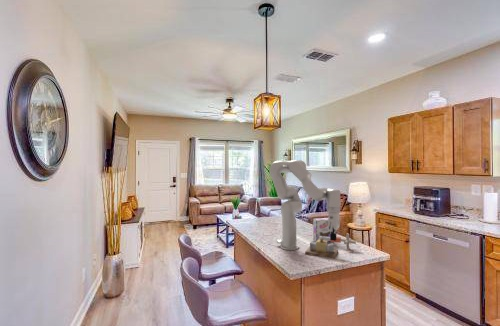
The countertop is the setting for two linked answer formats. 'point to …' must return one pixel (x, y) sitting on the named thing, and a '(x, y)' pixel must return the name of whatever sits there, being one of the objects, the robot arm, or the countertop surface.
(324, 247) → the ball valve
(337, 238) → the lever
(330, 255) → the board
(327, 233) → the candy box
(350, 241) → the beige crossed-rod piece
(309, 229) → the countertop surface
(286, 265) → the countertop surface
